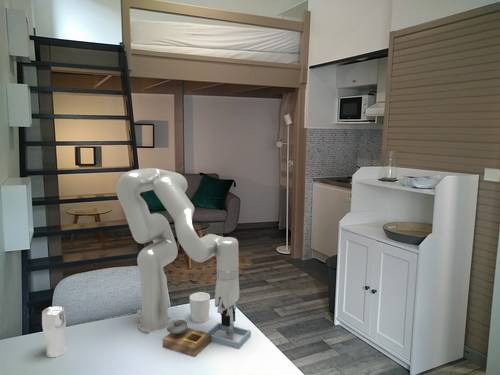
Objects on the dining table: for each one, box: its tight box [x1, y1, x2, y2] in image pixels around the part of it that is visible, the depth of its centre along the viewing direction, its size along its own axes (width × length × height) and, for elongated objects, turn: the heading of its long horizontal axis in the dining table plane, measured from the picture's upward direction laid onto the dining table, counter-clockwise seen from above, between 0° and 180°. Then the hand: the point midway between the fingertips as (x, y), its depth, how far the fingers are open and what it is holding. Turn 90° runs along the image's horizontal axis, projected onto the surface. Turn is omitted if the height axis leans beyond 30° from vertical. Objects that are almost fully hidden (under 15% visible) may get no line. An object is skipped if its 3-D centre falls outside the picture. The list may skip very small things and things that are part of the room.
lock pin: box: [223, 304, 235, 336], centre depth 137 cm, size 4×4×11 cm
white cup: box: [189, 291, 211, 323], centre depth 152 cm, size 8×8×10 cm
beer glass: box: [41, 305, 67, 359], centre depth 129 cm, size 7×7×15 cm
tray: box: [206, 322, 252, 350], centre depth 138 cm, size 13×9×3 cm
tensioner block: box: [161, 319, 212, 358], centre depth 133 cm, size 14×10×8 cm
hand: (228, 322), depth 137 cm, fingers closed on lock pin, 3 cm apart
